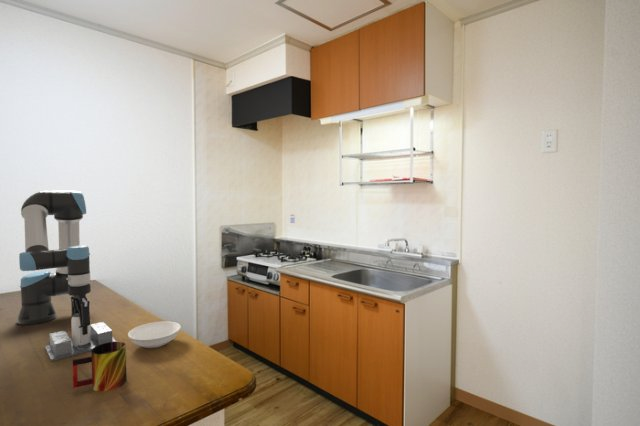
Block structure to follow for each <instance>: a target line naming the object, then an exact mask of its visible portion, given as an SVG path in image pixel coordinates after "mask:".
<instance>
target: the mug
mask: <svg viewBox="0 0 640 426" xmlns="http://www.w3.org/2000/svg"><path fill="white" fill-rule="evenodd" d="M126 350H127V349H126V343H125V342H123V341H117V342H108V343H104V344H101V345H98V346H96V347H94V348H93V349H92V350H91V351H90V352H91V353H90V355H91V356H87V357H86V356H85V357H81V358H76V359H74V358H73V359H72V386H73V387H72V388H73V389H77V388H80V387H84V386H90V385H91V386H92V389H93V391H95V392H108V391H113V390H115V389H118V388H120V387H122V386H123V385H125V383H127V351H126ZM89 363H91V378H87V379H83V380H78V366H79V365H85V364H89Z"/></svg>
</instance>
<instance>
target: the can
mask: <svg viewBox="0 0 640 426" xmlns="http://www.w3.org/2000/svg"><path fill="white" fill-rule="evenodd" d="M72 316H73V317H72ZM71 318H72V319H71V320H70V322H71V323H70V326H71V340H72V345H73V346H83V345H86V344H88V343H90V341H91V321H90V325H89V326H88V337H89V341H87V342H84V343H80V328H79V326H81V324H80V317H79V313H76V314H74V315H72V314H71Z"/></svg>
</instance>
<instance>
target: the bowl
mask: <svg viewBox="0 0 640 426" xmlns="http://www.w3.org/2000/svg"><path fill="white" fill-rule="evenodd" d="M181 327H182V326H181V324H179V323H178V322H174V321H164V320H163V321H154V322H148V323H144V324H141V325H138V326H136V327H133V328H132V329H130V330H129V332H128V333H127V337H128V338H129V339H130V340H131V342H132V343H133V344H134V345H136V346H139V347H143V348H145V349H146V348H147V349H153V348H154V349H155V348H159V347H162V346H164V345H167V344H168V343H170V342H171V341H172V340H174V339H175V338H176V337H177V335H178V333H179V332H180V330H181Z"/></svg>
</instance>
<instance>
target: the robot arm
mask: <svg viewBox="0 0 640 426" xmlns="http://www.w3.org/2000/svg"><path fill="white" fill-rule="evenodd" d="M86 205H87V204H86V200H85V197H84V194H83V192H81V191H78V190H77V191H76V190H41V191H38V192H35V193H34V194H32V195H30V196H29V197H27V198H26V199H25V201H24V202H23V203H22V206H21V207H20V208H21V209H20V211H21V212H20V215H21V217H22V218H23V221H24V246H25V247H24V248H25V251H24V252H20V253H19V256H18V257H19V258H18V259H19V262H18V263H19V270H20V271H22V272H29V271H30V272H32V271H33V272H32V273H27V274H25V275H23V276H22V277H21V278H20V286H19V287H20V303H21V307H20V310H19V313H18V316H17V319H16V321H17V324H18V325H21V326H24V325H25V326H27V325H29V326H30V325H36V324H42V323H45V322H49V321H51V320H54V319H55V318H57V310H56V309H55V306H54V304H53V302H52V297H57V296H65V295H68V296H70V302H71V319H72V317H73V316H72V315H74V314H76V313H79V317H80V324H81V326H79V328H80V343H84V342H87V341H89V337H88V326H89V325H90V322H91V314H90V300H88V298H87V296H86V295H87V294H89V293H91V289H92V287H91V283H90V282H91V271H90V269H91V268H90V263H91V262H90V255H91V254H90V247H89V246H88V245H83V244H82V245H81V244H80V242H81V241H80V221H81V220H83V218H84V217H83V216H84V215H86V214H87V206H86ZM48 216H53V217H54V219H53V220H56V221H57V223H58V224H57V225H58V226H57V228H58V249H52V250H51V249H49V239H48V228H47V217H48ZM49 269H55V272H53V273H52V272H51V271H50V270H49Z"/></svg>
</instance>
